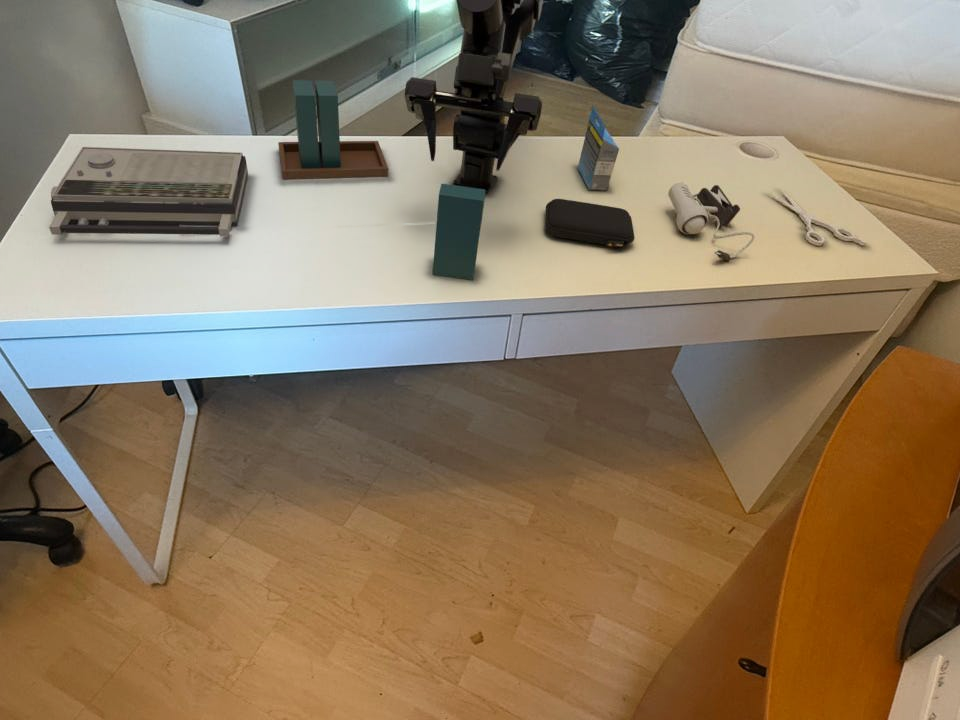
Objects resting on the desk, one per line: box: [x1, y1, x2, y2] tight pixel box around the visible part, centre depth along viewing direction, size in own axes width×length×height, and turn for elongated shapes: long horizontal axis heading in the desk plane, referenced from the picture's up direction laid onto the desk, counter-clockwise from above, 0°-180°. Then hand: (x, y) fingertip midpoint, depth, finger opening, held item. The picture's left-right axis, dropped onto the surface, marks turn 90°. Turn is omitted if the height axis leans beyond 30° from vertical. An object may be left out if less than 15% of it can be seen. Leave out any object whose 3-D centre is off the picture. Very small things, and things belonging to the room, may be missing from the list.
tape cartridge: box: [577, 104, 620, 192], centre depth 112 cm, size 9×4×12 cm, turn 8°
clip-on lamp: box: [667, 182, 756, 262], centre depth 105 cm, size 12×6×18 cm
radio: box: [48, 146, 249, 237], centre depth 91 cm, size 24×5×20 cm
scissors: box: [766, 188, 867, 247], centre depth 115 cm, size 11×1×20 cm
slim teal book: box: [432, 183, 486, 281], centre depth 86 cm, size 3×6×13 cm, turn 86°
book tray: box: [277, 140, 389, 181], centre depth 108 cm, size 18×11×2 cm, turn 106°
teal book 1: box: [292, 79, 320, 169], centre depth 102 cm, size 3×6×13 cm, turn 16°
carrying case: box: [544, 198, 635, 248], centre depth 102 cm, size 11×3×15 cm
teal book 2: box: [314, 80, 341, 168], centre depth 103 cm, size 3×6×13 cm, turn 16°
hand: (465, 165), depth 86 cm, fingers open, 9 cm apart
